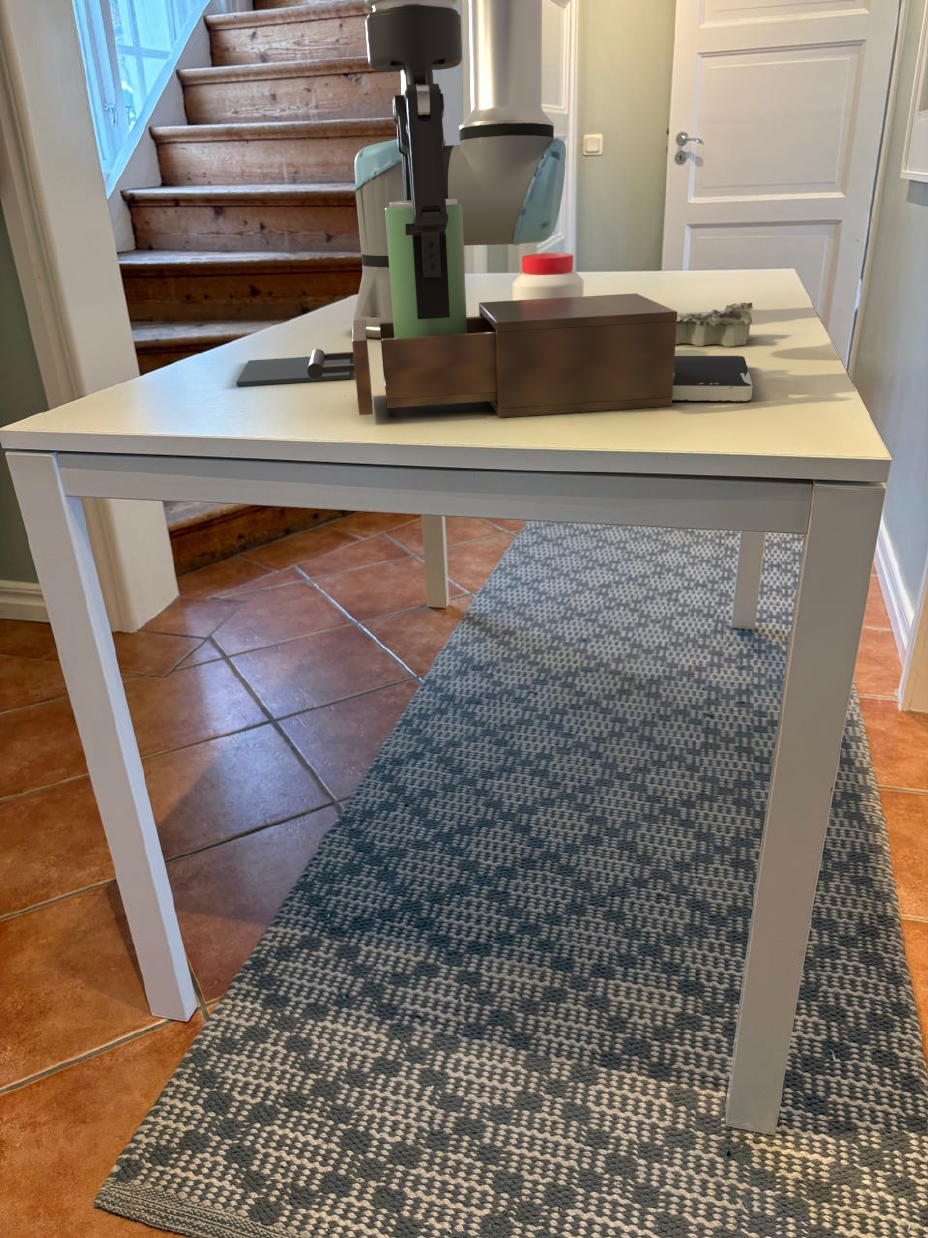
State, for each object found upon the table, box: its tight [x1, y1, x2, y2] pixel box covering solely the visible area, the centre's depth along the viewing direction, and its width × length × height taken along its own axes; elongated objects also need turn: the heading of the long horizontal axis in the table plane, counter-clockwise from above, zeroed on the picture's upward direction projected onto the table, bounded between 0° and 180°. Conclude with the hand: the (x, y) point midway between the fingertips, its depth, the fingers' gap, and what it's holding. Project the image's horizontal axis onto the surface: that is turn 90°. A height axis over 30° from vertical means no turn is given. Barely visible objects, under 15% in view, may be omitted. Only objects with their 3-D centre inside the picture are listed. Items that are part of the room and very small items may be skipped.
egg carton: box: [675, 302, 754, 348], centre depth 106 cm, size 11×8×4 cm
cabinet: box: [478, 293, 678, 419], centre depth 83 cm, size 16×13×8 cm
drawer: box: [307, 315, 497, 416], centre depth 82 cm, size 19×11×6 cm, turn 96°
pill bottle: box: [511, 252, 585, 301], centre depth 98 cm, size 8×8×11 cm
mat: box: [235, 356, 352, 387], centre depth 101 cm, size 12×12×1 cm
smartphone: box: [672, 355, 754, 402], centre depth 87 cm, size 8×1×15 cm
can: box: [385, 199, 468, 338], centre depth 80 cm, size 7×7×15 cm
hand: (429, 309), depth 80 cm, fingers open, 9 cm apart
